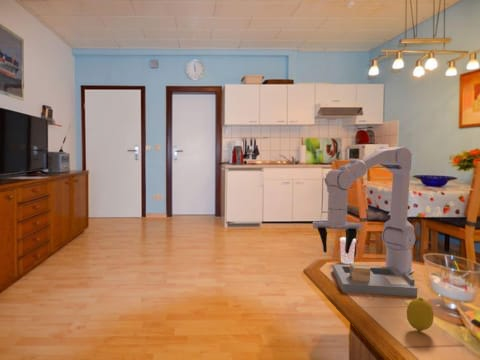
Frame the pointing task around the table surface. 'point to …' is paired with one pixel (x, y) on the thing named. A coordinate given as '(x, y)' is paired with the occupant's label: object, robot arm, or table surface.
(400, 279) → the pad
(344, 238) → the beverage cup
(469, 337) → the table surface
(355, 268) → the block
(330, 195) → the robot arm
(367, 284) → the platform
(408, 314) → the lemon
